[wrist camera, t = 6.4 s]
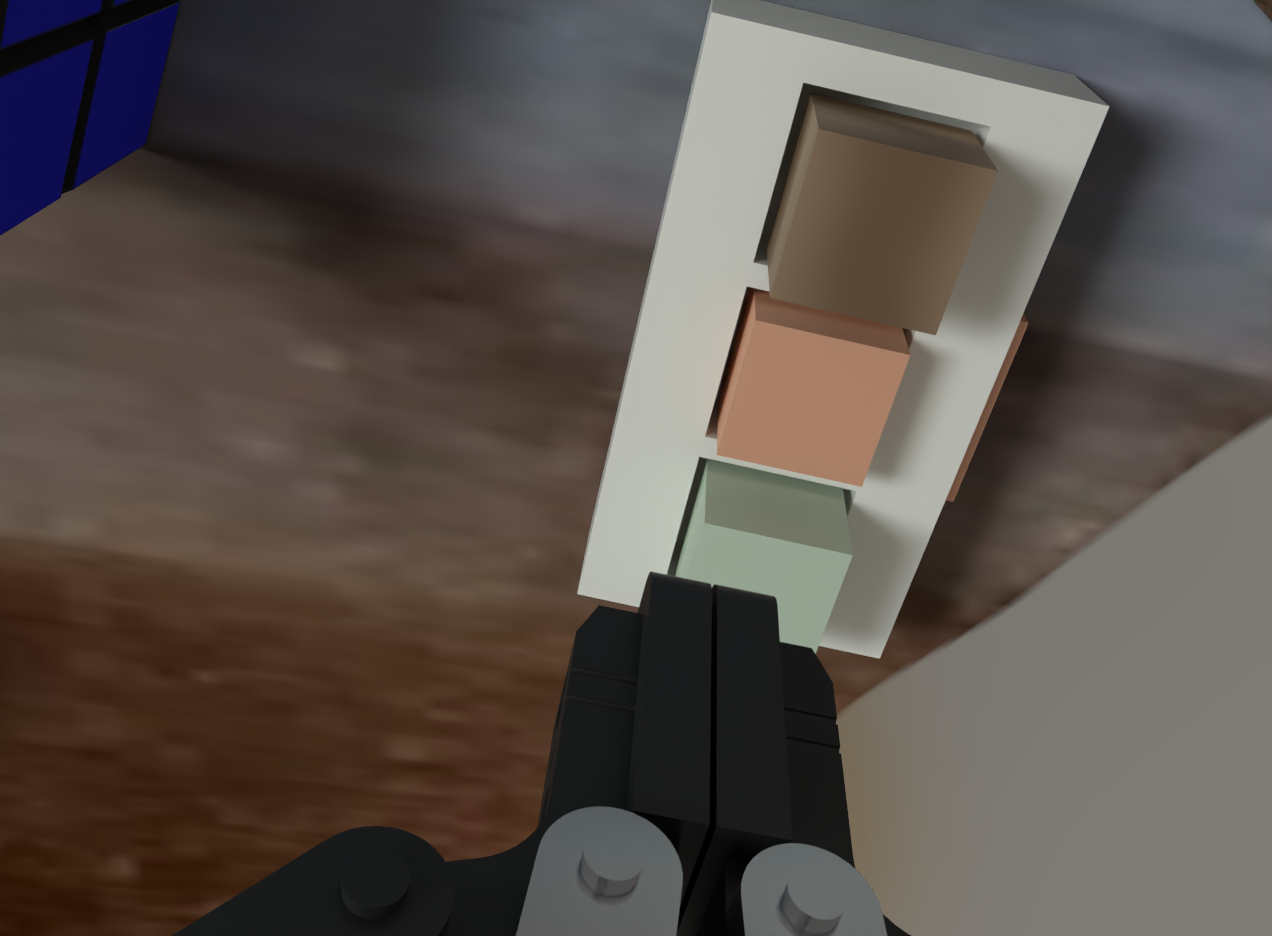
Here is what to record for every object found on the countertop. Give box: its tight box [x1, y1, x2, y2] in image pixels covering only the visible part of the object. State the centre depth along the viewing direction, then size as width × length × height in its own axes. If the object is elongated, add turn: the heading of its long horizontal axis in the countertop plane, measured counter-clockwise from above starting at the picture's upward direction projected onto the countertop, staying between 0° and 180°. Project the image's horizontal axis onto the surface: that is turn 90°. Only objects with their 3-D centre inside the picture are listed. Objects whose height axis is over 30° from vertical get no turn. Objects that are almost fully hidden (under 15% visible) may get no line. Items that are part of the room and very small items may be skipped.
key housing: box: [577, 0, 1110, 659], centre depth 34 cm, size 10×18×4 cm, turn 168°
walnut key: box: [767, 93, 998, 335], centre depth 29 cm, size 4×4×4 cm
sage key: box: [676, 459, 853, 654], centre depth 35 cm, size 4×4×4 cm
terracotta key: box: [717, 287, 910, 487], centre depth 33 cm, size 4×4×4 cm
